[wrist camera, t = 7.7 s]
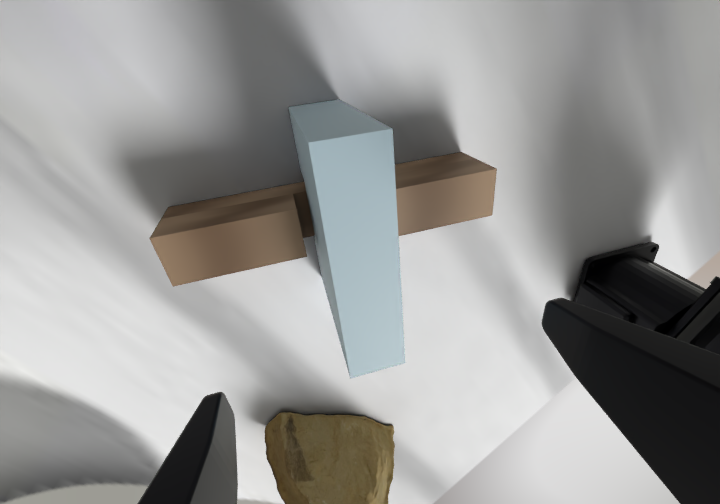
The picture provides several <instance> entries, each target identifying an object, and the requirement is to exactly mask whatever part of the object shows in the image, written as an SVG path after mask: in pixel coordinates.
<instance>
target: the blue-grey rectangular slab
mask: <svg viewBox="0 0 720 504" xmlns="http://www.w3.org/2000/svg"><path fill="white" fill-rule="evenodd" d="M288 109H289V114H290V119H291V124H292V129H293V134H294V139H295V144H296V149H297V154H298V159H299V164H300V169H301V173H302V176H303V178H304V182H305V187H306V193H307V198H308V203H309V208H310V213H311V218H312V223H313V228H314V233H315V235H314V240H315V245H316V250H317V255H318V260H319V265H320V270H321V275H322V279H323V283H324V287H325V290H326V294H327V297H328V301H329V304H330V308H331V311H332V315H333V318H334V322H335V325H336V329H337V333H338V336H339V340H340V343H341V347H342V350H343V354H344V357H345V361H346V364H347V368H348V371H349V375H350V378H354V377H357V376H361V375H365V374H368V373H372V372H375V371H379V370H382V369H386V368H389V367H393V366H396V365H400V364H404V363H405V349H404V330H403V311H402V293H401V274H400V256H399V237H398V219H397V200H396V182H395V163H394V144H393V129H392V128H391V127H389V126H387V125H385V124H383V123H381V122H380V121H378V120H376V119H374V118H372V117H370V116H369V115H367V114H365V113H363V112H361V111H360V110H358V109H356V108H354V107H352V106H350V105H349V104H347V103H345V102H343V101H341V100H340V99H338V100H331V101H325V102H318V103H311V104H304V105H298V106H291V107H288Z"/></svg>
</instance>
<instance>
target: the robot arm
mask: <svg viewBox="0 0 720 504" xmlns="http://www.w3.org/2000/svg"><path fill="white" fill-rule="evenodd" d="M658 249H659V245H658V244H656V243H654V242H649V243H645V244H641V245H637V246H633V247H629V248H625V249H622V250H618V251H614V252H610V253H606V254H602V255H598V256H594V257H591V258H589V259H587V260H586V262H585V263H584V267H583V270H582V274H581V278H580V281H579V285H578V289H577V292H576V296H575V300H574V302H573V301H570V300H567V299H564V298H557V299H553V300H550V301H548V302H547V303H546V305H545V310H544V314H543V319H542V327H543V329H544V331H545V333H546V334H547V336H548V337H549V339H550V340H551V341H552V343H553V344H554V346H555V347H556V349H557V350H558V352H559V353H560V355H561V356H562V358H563V359H564V361H565V362H566V364H567V365H568V366H569V368H570V369H571V371H572V372H573V374H574V375H575V376H576V378H577V379H578V380H579V381H580V383H581V384H582V385H583V386H584V387H585V389H586V390H587V391H588V392H589V394H590V395H591V396H592V397H593V398H594V400H595V401H596V402H597V403H598V405H599V406H600V407H601V408H602V409H603V411H604V412H605V413H606V414H607V415H608V417H609V418H610V419H611V420H612V421H613V423H614V424H615V425H616V426H617V427H618V429H619V430H620V431H621V432H622V434H623V435H624V436H625V437H626V438H627V440H628V441H629V442H630V443H631V444H632V446H633V447H634V448H635V449H636V450H637V452H638V453H639V454H640V455H641V457H642V458H643V459H644V460H645V461H646V463H647V464H648V465H649V466H650V467H651V469H652V470H653V471H654V472H655V474H656V475H657V476H658V477H659V478H660V480H661V481H662V482H663V483H664V484H665V486H666V487H667V488H668V489H669V490H670V492H671V493H672V494H673V495H674V496H675V498H676V499H677V500H678V501H679V503H680V504H720V278H719V277H715V278H714V279H713V280H712V281H711V282H710V283H711V285H710V286H709V287H708V288H707V289H704V288H702V287H700V286H699V285H697V284H695V283H693V282H691V281H689V280H687V279H685V278H683V277H681V276H680V275H678V274H676V273H674V272H672V271H670V270H668V269H666V268H664V267H662V266H660V265H659V264H657V263H655V262H653V261H654V259H655V256H656V254H657V251H658ZM237 486H238V483H237V458H236V435H235V418H234V413H233V411H232V409H231V406H230V404H229V402H228V400H227V398H226V396H225V394H224V393H223V392H218V393H214V394H210V395H207V396H205V397H204V398H203V400H202V401H201V403H200V404H199V406H198V408H197V409H196V411H195V412H194V414H193V416H192V417H191V419H190V420H189V422H188V424H187V425H186V427H185V428H184V430H183V432H182V433H181V435H180V437H179V438H178V440H177V441H176V443H175V445H174V446H173V448H172V449H171V451H170V453H169V454H168V456H167V457H166V459H165V461H164V462H163V464H162V465H161V467H160V469H159V470H158V472H157V473H156V475H155V477H154V478H153V480H152V481H151V483H150V485H149V486H148V488H147V489H146V491H145V493H144V494H143V496H142V497H141V499H140V501H139V502H138V504H237Z"/></svg>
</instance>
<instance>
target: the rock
mask: <svg viewBox="0 0 720 504" xmlns="http://www.w3.org/2000/svg"><path fill="white" fill-rule="evenodd" d="M393 434H394V428H393V425H389V426H385V425H383V424H381V423H377V422H376V421H374V420H372V419H369V418H367V417H366V416H352V415H324V414H314V415H301V414H298V413H291V412H288V413H284V412H282V413H279V414H278V415H277V416H276V417H275V418H274V419H273V420H271V421H270V422H269V423H268V424H267V426H266V428H265V443H266V455H267V460H268V462H269V464H270V466H271V468H272V471H273V475H274V477H275V479H276V483H277V489H278V492H279V494H280V496H281V498H282V500H283V501H284V502H285V504H388V494H389V488H390V484H391V482H392V479H393V468H394V447H395V445H394V441H393Z"/></svg>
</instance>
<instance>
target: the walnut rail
mask: <svg viewBox="0 0 720 504" xmlns="http://www.w3.org/2000/svg"><path fill="white" fill-rule="evenodd" d="M496 171H497V169H496V168H494V167H492V166H490V165H487V164H485V163H483V162H481V161H479V160H477V159H475V158H473V157H471V156H469V155H467V154H464V153H462V152H459V153H453V154H448V155H443V156H437V157H432V158H427V159H422V160H416V161H411V162H406V163H400V164H395V182H396V200H397V219H398V236H401V235H406V234H410V233H415V232H419V231H424V230H428V229H433V228H437V227H442V226H446V225H451V224H455V223H460V222H464V221H469V220H473V219H478V218H482V217H487V216H491V215H492V212H493V201H494V191H495V181H496ZM314 235H315V233H314V228H313V223H312V218H311V213H310V208H309V203H308V198H307V193H306V187H305V182H299V183H294V184H289V185H283V186H278V187H273V188H268V189H262V190H257V191H252V192H246V193H241V194H236V195H230V196H225V197H220V198H214V199H209V200H204V201H198V202H193V203H188V204H183V205H177V206H172V207H168V208H167V210H166V212H165V213H164V215H163V217H162V218H161V220H160V222H159V223H158V225H157V227H156V228H155V230H154V232H153V233H152V235H151V237H150V240H151V242H152V244H153V246H154V249H155V251H156V253H157V255H158V257H159V259H160V261H161V263H162V265H163V267H164V269H165V271H166V273H167V275H168V277H169V279H170V281H171V284H172V286H177V285H182V284H186V283H191V282H195V281H200V280H204V279H209V278H213V277H218V276H222V275H226V274H231V273H235V272H240V271H244V270H249V269H253V268H258V267H262V266H267V265H271V264H276V263H280V262H285V261H289V260H294V259H298V258H303V257H307V254H306V250H305V245H304V241H303V238H305V237H310V236H314Z"/></svg>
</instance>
